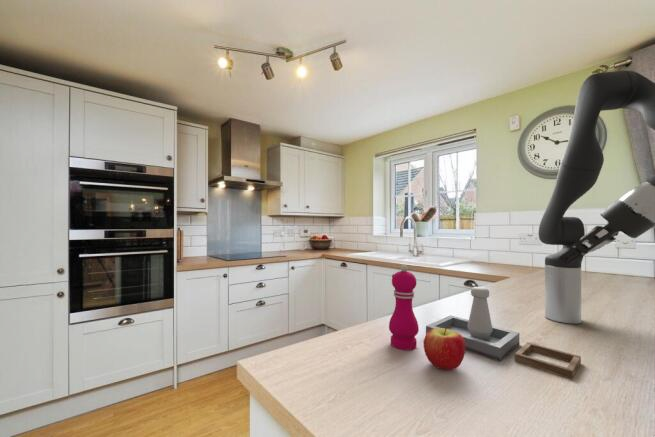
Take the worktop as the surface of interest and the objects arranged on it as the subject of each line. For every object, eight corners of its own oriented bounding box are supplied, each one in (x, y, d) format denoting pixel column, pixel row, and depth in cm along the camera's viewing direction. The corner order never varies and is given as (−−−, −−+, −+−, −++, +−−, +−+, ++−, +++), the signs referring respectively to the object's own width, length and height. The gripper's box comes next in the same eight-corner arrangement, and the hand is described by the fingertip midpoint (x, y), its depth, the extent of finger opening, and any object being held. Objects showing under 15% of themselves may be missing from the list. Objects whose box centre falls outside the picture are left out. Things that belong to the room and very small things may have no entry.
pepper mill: (420, 342, 75) (421, 264, 75) (416, 353, 68) (416, 268, 69) (392, 337, 78) (392, 262, 78) (385, 347, 71) (386, 265, 72)
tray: (450, 325, 88) (450, 315, 88) (519, 344, 74) (519, 332, 74) (425, 337, 78) (425, 325, 78) (500, 361, 65) (500, 347, 65)
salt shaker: (495, 342, 73) (495, 290, 73) (471, 340, 74) (471, 289, 75) (487, 334, 79) (488, 285, 79) (465, 332, 80) (465, 284, 80)
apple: (446, 381, 56) (447, 329, 57) (414, 362, 64) (415, 316, 64) (474, 371, 60) (474, 323, 60) (441, 355, 68) (441, 311, 68)
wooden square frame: (527, 348, 72) (527, 342, 72) (580, 363, 65) (580, 356, 65) (514, 360, 65) (514, 353, 65) (572, 378, 58) (572, 371, 58)
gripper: (623, 199, 66) (559, 246, 74) (617, 195, 56) (544, 249, 65) (659, 223, 62) (586, 269, 70) (658, 223, 52) (574, 277, 61)
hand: (566, 260), depth 68 cm, fingers open, 8 cm apart
